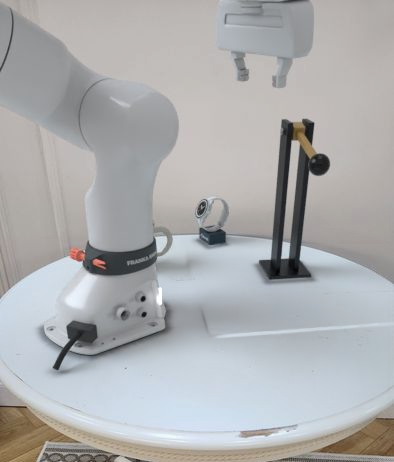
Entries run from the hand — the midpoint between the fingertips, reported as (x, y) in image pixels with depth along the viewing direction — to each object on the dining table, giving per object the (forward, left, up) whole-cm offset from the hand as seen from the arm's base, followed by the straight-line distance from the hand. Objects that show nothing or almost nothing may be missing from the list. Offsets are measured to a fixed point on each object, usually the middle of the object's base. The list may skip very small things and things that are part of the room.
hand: (260, 84), depth 90 cm
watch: (+12, +21, -37) cm, 44 cm away
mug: (-8, +23, -37) cm, 44 cm away
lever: (+5, -7, -12) cm, 15 cm away
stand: (+9, -2, -37) cm, 38 cm away
